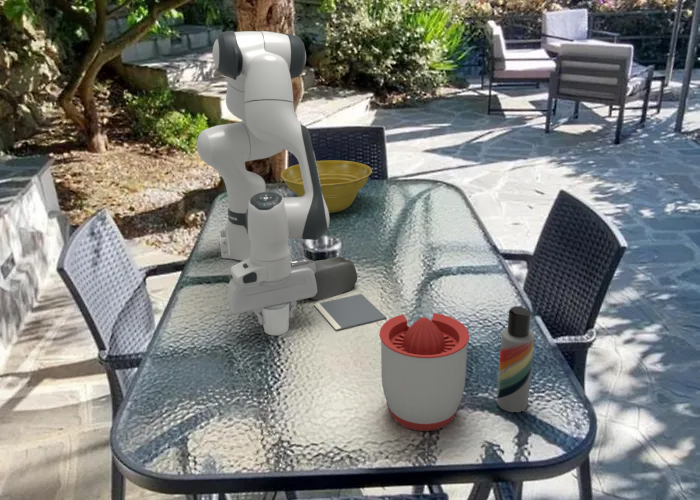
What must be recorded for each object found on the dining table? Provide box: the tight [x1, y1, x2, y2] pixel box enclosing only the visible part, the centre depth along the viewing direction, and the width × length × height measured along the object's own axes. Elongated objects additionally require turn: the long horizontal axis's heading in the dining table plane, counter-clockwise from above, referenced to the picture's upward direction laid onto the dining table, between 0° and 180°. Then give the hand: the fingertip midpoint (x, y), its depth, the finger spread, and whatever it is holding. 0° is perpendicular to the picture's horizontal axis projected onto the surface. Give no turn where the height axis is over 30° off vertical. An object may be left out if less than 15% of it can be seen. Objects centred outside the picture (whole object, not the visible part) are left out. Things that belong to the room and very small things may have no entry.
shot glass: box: [260, 302, 290, 336], centre depth 147 cm, size 7×7×7 cm
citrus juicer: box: [379, 312, 470, 432], centre depth 115 cm, size 16×17×20 cm
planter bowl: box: [280, 159, 373, 214], centre depth 226 cm, size 32×32×13 cm
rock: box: [310, 256, 358, 301], centre depth 166 cm, size 18×11×8 cm, turn 122°
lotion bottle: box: [496, 305, 535, 413], centre depth 116 cm, size 6×6×20 cm
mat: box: [313, 293, 387, 332], centre depth 155 cm, size 14×13×1 cm
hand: (275, 320), depth 147 cm, fingers closed on shot glass, 5 cm apart
